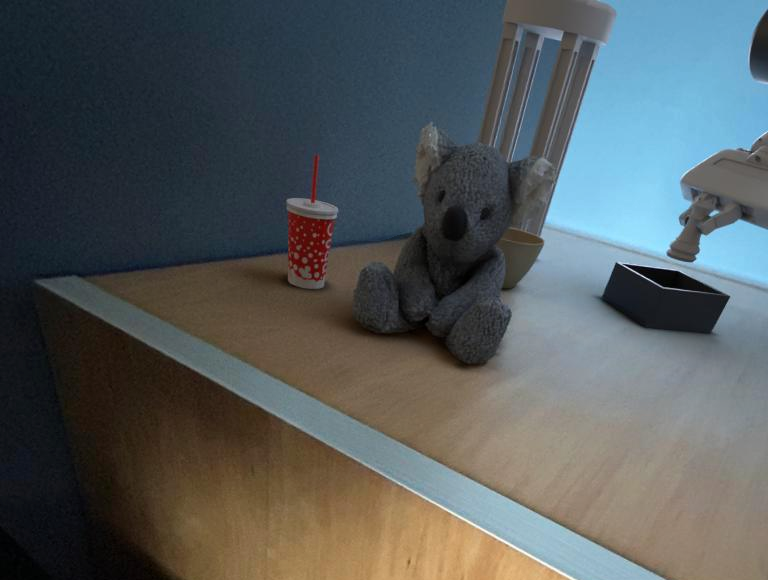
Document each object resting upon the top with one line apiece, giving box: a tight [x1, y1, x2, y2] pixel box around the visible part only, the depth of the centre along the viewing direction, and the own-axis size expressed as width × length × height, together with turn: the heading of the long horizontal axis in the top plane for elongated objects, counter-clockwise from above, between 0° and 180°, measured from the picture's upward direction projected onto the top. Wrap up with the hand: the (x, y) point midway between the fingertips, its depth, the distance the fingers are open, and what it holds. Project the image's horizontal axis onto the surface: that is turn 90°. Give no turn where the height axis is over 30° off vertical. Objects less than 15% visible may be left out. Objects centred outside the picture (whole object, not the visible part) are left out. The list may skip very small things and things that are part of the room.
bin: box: [601, 261, 731, 334], centre depth 87 cm, size 12×12×6 cm
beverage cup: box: [285, 154, 339, 290], centre depth 68 cm, size 6×6×14 cm
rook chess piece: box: [665, 196, 717, 264], centre depth 82 cm, size 4×4×8 cm
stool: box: [476, 0, 618, 237], centre depth 93 cm, size 16×16×35 cm
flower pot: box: [495, 227, 546, 289], centre depth 86 cm, size 10×10×7 cm
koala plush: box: [352, 121, 558, 365], centre depth 61 cm, size 17×18×20 cm
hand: (691, 226), depth 82 cm, fingers closed on rook chess piece, 3 cm apart
